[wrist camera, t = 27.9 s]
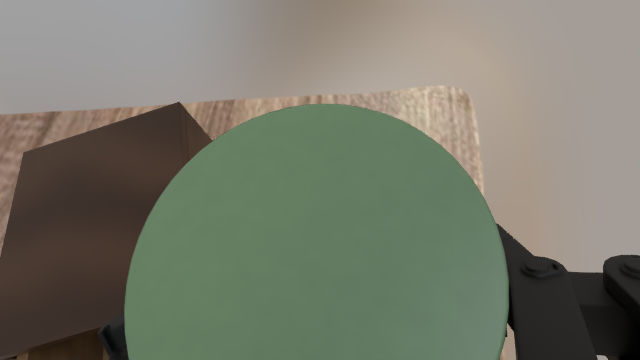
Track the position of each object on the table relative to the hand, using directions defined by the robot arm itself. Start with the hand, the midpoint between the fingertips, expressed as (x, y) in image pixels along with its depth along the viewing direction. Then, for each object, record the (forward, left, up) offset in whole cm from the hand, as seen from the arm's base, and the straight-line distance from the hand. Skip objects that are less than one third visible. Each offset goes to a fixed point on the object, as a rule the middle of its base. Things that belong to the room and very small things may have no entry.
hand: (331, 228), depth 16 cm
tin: (0, +3, -4) cm, 5 cm away
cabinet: (+16, -8, -14) cm, 23 cm away
